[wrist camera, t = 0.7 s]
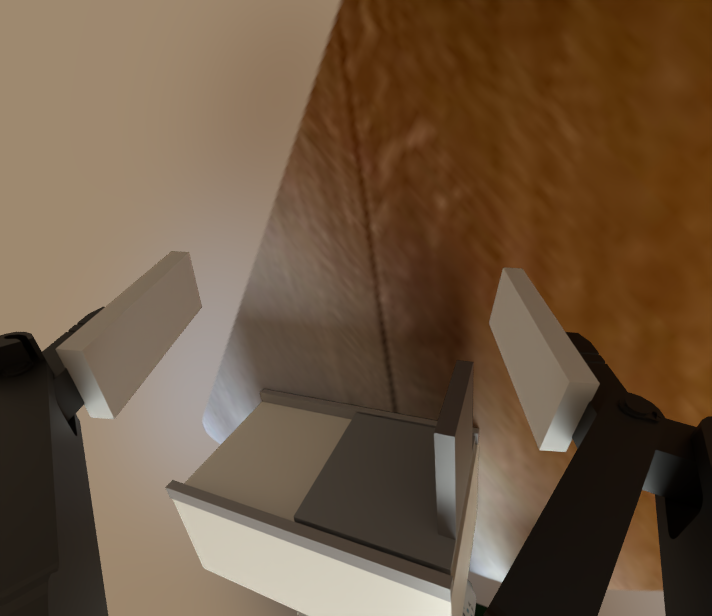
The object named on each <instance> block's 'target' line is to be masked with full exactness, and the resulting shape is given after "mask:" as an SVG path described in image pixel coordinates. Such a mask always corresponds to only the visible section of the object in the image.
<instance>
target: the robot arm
mask: <svg viewBox="0 0 712 616" xmlns="http://www.w3.org/2000/svg"><path fill="white" fill-rule="evenodd" d="M201 308H202V305H201V301H200V297H199V292H198V288H197V284H196V280H195V276H194V271H193V267H192V263H191V259H190V254H189V252H175V251H171V252H170V253H169V254H168V255H166V256H165V257H164V258H163V259H162V260H161V261H159V262H158V263H157V264H156V265H155V266H154V267H152V268H151V269H150V270H149V271H147V272H146V273H145V274H144V275H143V276H141V277H140V278H139V279H138V280H137V281H136V282H134V283H133V284H132V285H131V286H130V287H128V288H127V289H126V290H125V291H124V292H123V293H121V294H120V295H119V296H118V297H117V298H115V299H114V300H113V301H112V302H111V303H109V304H108V305H107V306H106V307H102V308H100V309H98V310H96V311H93V312H91V313H90V314H88V315H87V316H85V317H84V318H83V319H82V320H80V321H79V322H78V324H77V325H74V326H73V327H72V328H71V329H69V332H66V333H65V334H64V335H62V336H61V337H60V338H58V339H57V340H56V341H55V342H54V343H52V344H51V345H50V346H49V347H47V348H46V349H45V350H44V351H43V352H41V350H40V348H39V346H38V344H37V343H36V341H35V339H34V337H33V336H32V334H30V333H27V332H13V333H8V334H4V335H1V336H0V616H108V610H107V604H106V598H105V590H104V584H103V576H102V570H101V563H100V556H99V549H98V543H97V536H96V529H95V522H94V515H93V508H92V501H91V494H90V488H89V481H88V474H87V467H86V461H85V453H84V447H83V440H82V433H81V426H80V421H79V419H78V418H77V415H76V412H77V411H78V410H79V409H80V408H81V407H82V406H83V405H85V407H86V409H87V411H88V413H89V414H90V416H91V417H92V418H93V417H94V418H107V419H115V418H116V416H117V415H118V414H119V413H120V411H121V410H122V409H123V407H124V406H125V405H126V404H127V402H128V401H129V400H130V398H131V397H132V396H133V395H134V393H135V392H136V391H137V389H138V388H139V387H140V386H141V384H142V383H143V382H144V381H145V379H146V378H147V377H148V375H149V374H150V373H151V372H152V370H153V369H154V368H155V366H156V365H157V364H158V363H159V361H160V360H161V359H162V357H163V356H164V355H165V354H166V352H167V351H168V350H169V348H170V347H171V346H172V344H173V343H174V342H175V341H176V340H177V338H178V337H179V336H180V334H181V333H182V332H183V331H184V329H185V328H186V327H187V325H188V324H189V323H190V322H191V320H192V319H193V318H194V316H195V315H196V314H197V313H198V311H199V310H200V309H201ZM489 324H490V327H491V330H492V332H493V335H494V337H495V340H496V342H497V345H498V347H499V350H500V352H501V355H502V357H503V360H504V362H505V365H506V367H507V370H508V372H509V375H510V377H511V380H512V382H513V385H514V387H515V390H516V392H517V395H518V397H519V400H520V403H521V405H522V408H523V410H524V413H525V415H526V418H527V420H528V423H529V425H530V428H531V430H532V433H533V435H534V438H535V440H536V443H537V445H538V448H539V450H546V451H560V452H566V450H567V448H568V446H569V444H570V442H571V440H572V438H573V440H574V442H575V444H576V446H577V448H578V449H577V451H576V453H575V455H574V456H573V458H572V460H571V462H570V464H569V465H568V467H567V469H566V471H565V472H564V474H563V476H562V478H561V479H560V481H559V483H558V485H557V487H556V488H555V490H554V492H553V494H552V495H551V497H550V499H549V501H548V502H547V504H546V506H545V508H544V510H543V511H542V513H541V515H540V517H539V518H538V520H537V522H536V524H535V526H534V527H533V529H532V531H531V533H530V534H529V536H528V538H527V540H526V541H525V543H524V545H523V547H522V549H521V550H520V552H519V554H518V556H517V557H516V559H515V561H514V563H513V565H512V566H511V568H510V570H509V572H508V573H507V575H506V577H505V579H504V580H503V582H502V584H501V586H500V588H499V590H498V592H497V593H496V595H495V596H494V598H493V600H492V602H491V603H490V605H489V607H488V609H487V610H486V612H485V613H484V615H483V616H598V613H599V610H600V607H601V604H602V602H603V599H604V596H605V593H606V590H607V587H608V585H609V582H610V579H611V576H612V573H613V570H614V567H615V565H616V562H617V559H618V556H619V553H620V550H621V548H622V545H623V542H624V539H625V536H626V533H627V531H628V528H629V525H630V522H631V519H632V516H633V514H634V511H635V508H636V505H637V502H638V499H639V497H640V494H641V491H642V490H645V491H648V492H651V493H653V494H655V499H656V511H657V522H658V533H659V545H660V556H661V567H662V579H663V590H664V601H665V612H666V616H712V416H711V417H706V418H705V419H703V420H702V421H701V422H700V424H699V425H698V426H697V427H694V426H691V425H687V424H683V423H680V422H676V421H673V420H669V419H666V418H665V417H664V415H663V414H662V412H661V411H660V410H659V409H658V408H657V407H656V406H655V405H654V404H653V403H651V402H650V401H648V400H646V399H644V398H643V397H641V396H638V395H635V394H632V393H628V392H627V391H626V389H625V388H624V387H623V385H622V384H621V383H620V381H619V380H618V378H617V377H616V376H615V374H614V373H613V372H612V370H611V369H610V368H609V366H608V365H607V364H605V361H604V360H603V358H602V357H601V356H600V355H599V353H598V351H597V350H596V349H595V347H594V346H593V345H592V343H591V342H589V341H588V340H587V339H585V338H584V337H583V336H581V335H580V334H579V333H570V332H565V331H564V330H563V328H562V327H561V325H560V324H559V322H558V321H557V319H556V318H555V316H554V315H553V313H552V312H551V310H550V309H549V307H548V306H547V304H546V303H545V301H544V300H543V298H542V297H541V295H540V294H539V293H538V291H537V290H536V288H535V287H534V285H533V284H532V282H531V281H530V279H529V278H528V276H527V275H526V273H525V272H524V270H523V269H520V268H503V271H502V275H501V278H500V282H499V286H498V290H497V294H496V298H495V302H494V306H493V310H492V314H491V317H490V321H489Z"/></svg>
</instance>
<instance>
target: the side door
mask: <svg viewBox="0 0 712 616" xmlns="http://www.w3.org/2000/svg"><path fill="white" fill-rule="evenodd" d="M472 429H473V362H469V361H461V360H457V362H456V365H455V368H454V371H453V374H452V377H451V381H450V384H449V387H448V390H447V393H446V396H445V400H444V403H443V406H442V409H441V412H440V415H439V418H438V422H437V425H436V428H432V427H427V426H422V425H416V424H411V423H406V422H401V421H396V420H390V419H385V418H380V417H375V416H370V415H364V414H359V413H355V415H354V417H353V418H352V420H351V422H350V423H349V425H348V427H347V428H346V430H345V432H344V433H343V435H342V437H341V438H340V440H339V442H338V443H337V445H336V447H335V448H334V450H333V452H332V453H331V455H330V457H329V458H328V460H327V462H326V463H325V465H324V467H323V468H322V470H321V472H320V473H319V475H318V477H317V478H316V480H315V481H314V483H313V485H312V486H311V488H310V490H309V491H308V493H307V495H306V496H305V498H304V500H303V501H302V503H301V505H300V506H299V508H298V510H297V511H296V513H295V515H294V516H293V517H294V521H295V522H296V523H299V524H302V525H305V526H308V527H311V528H314V529H317V530H320V531H323V532H325V533H328V534H331V535H334V536H337V537H340V538H343V539H346V540H349V541H352V542H354V543H357V544H360V545H363V546H366V547H369V548H372V549H375V550H378V551H381V552H384V553H386V554H389V555H392V556H395V557H398V558H401V559H404V560H407V561H410V562H413V563H415V564H418V565H421V566H424V567H427V568H430V569H433V570H436V571H439V572H442V573H445V574H447V575H450V576H451V573H452V567H453V562H454V556H455V551H456V545H457V540H458V534H459V529H460V523H461V518H462V512H463V507H464V501H465V496H466V490H467V485H468V479H469V474H470V468H471V462H472V457H473V451H474V446H475V436H474V435H472Z"/></svg>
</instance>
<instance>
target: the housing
mask: <svg viewBox="0 0 712 616" xmlns="http://www.w3.org/2000/svg"><path fill="white" fill-rule="evenodd" d="M260 395H261V399H262V402H261V403H260V404H259V405H258V406H257V408H256V409H255V410H254V411H253V412H252V413H251V414H250V415H249V416H248V417H247V418H246V419H245V420H244V421H243V422H242V423H241V424H240V425H239V426H238V427H237V429H236V430H235V431H234V432H233V433H232V434H231V435H230V436H229V437H228V438H227V439H226V440H225V441H224V442H223V443H222V444H221V445H220V446H219V447H218V449H216V451H215V452H214V453H213V454H212V455H211V456H210V457H209V458H208V459H207V460H206V461H205V462H204V463H203V464H202V465H201V466H200V467H199V468H198V469H197V470H196V471H195V473H194V474H193V475H192V476H191V477H190V478H189V479H188V480H187V481H186V482H185V483H184V484H183V483H180V482H177V481H174V480H172V481H171V482H170V483H169V484H168V485H167V486H166V487H165V488H166V490H167V492H168V494H169V497H170V498H171V499H173V501H174V503H175V505H176V508H177V510H178V512H179V514H180V517H181V519H182V521H183V523H184V525H185V528H186V530H187V532H188V534H189V537H190V539H191V541H192V543H193V545H194V548H195V550H196V552H197V554H198V557H199V559H200V561H201V563H202V565H203V568H205V569H207V570H209V571H211V572H213V573H215V574H218V575H220V576H222V577H224V578H227V579H229V580H231V581H233V582H235V583H238V584H240V585H242V586H244V587H246V588H248V589H251V590H253V591H255V592H257V593H259V594H262V595H264V596H266V597H268V598H270V599H273V600H275V601H277V602H279V603H281V604H284V605H286V606H288V607H290V608H292V609H295V610H297V611H299V612H301V613H303V614H306V615H308V616H462V614H463V607H464V600H465V593H466V586H467V579H468V572H469V565H470V558H471V552H472V545H473V538H474V531H475V524H476V517H477V491H478V448H479V429H478V428H473V429H472V435H474V436H475V446H474V451H473V457H472V462H471V468H470V474H469V479H468V485H467V490H466V496H465V501H464V507H463V512H462V518H461V523H460V529H459V534H458V540H457V545H456V551H455V556H454V562H453V567H452V573H451V576H450V575H447V574H445V573H442V572H439V571H436V570H433V569H430V568H427V567H424V566H421V565H418V564H415V563H413V562H410V561H407V560H404V559H401V558H398V557H395V556H392V555H389V554H386V553H384V552H381V551H378V550H375V549H372V548H369V547H366V546H363V545H360V544H357V543H354V542H352V541H349V540H346V539H343V538H340V537H337V536H334V535H331V534H328V533H325V532H323V531H320V530H317V529H314V528H311V527H308V526H305V525H302V524H299V523H296V522H295V521H294V517H293V516H294V515H295V513H296V511H297V510H298V508H299V506H300V505H301V503H302V501H303V500H304V498H305V496H306V495H307V493H308V491H309V490H310V488H311V486H312V485H313V483H314V481H315V480H316V478H317V477H318V475H319V473H320V472H321V470H322V468H323V467H324V465H325V463H326V462H327V460H328V458H329V457H330V455H331V453H332V452H333V450H334V448H335V447H336V445H337V443H338V442H339V440H340V438H341V437H342V435H343V433H344V432H345V430H346V428H347V427H348V425H349V423H350V422H351V420H352V418H353V417H354V415H355V413H359V414H364V415H370V416H375V417H380V418H385V419H390V420H396V421H401V422H406V423H411V424H416V425H422V426H427V427H432V428H436V425H437V422H438V421H435V420H430V419H424V418H419V417H413V416H408V415H403V414H397V413H392V412H386V411H381V410H375V409H370V408H365V407H359V406H354V405H348V404H343V403H337V402H332V401H327V400H321V399H316V398H310V397H305V396H299V395H294V394H289V393H283V392H278V391H272V390H267V389H263V390H262V391H261V392H260Z"/></svg>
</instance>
